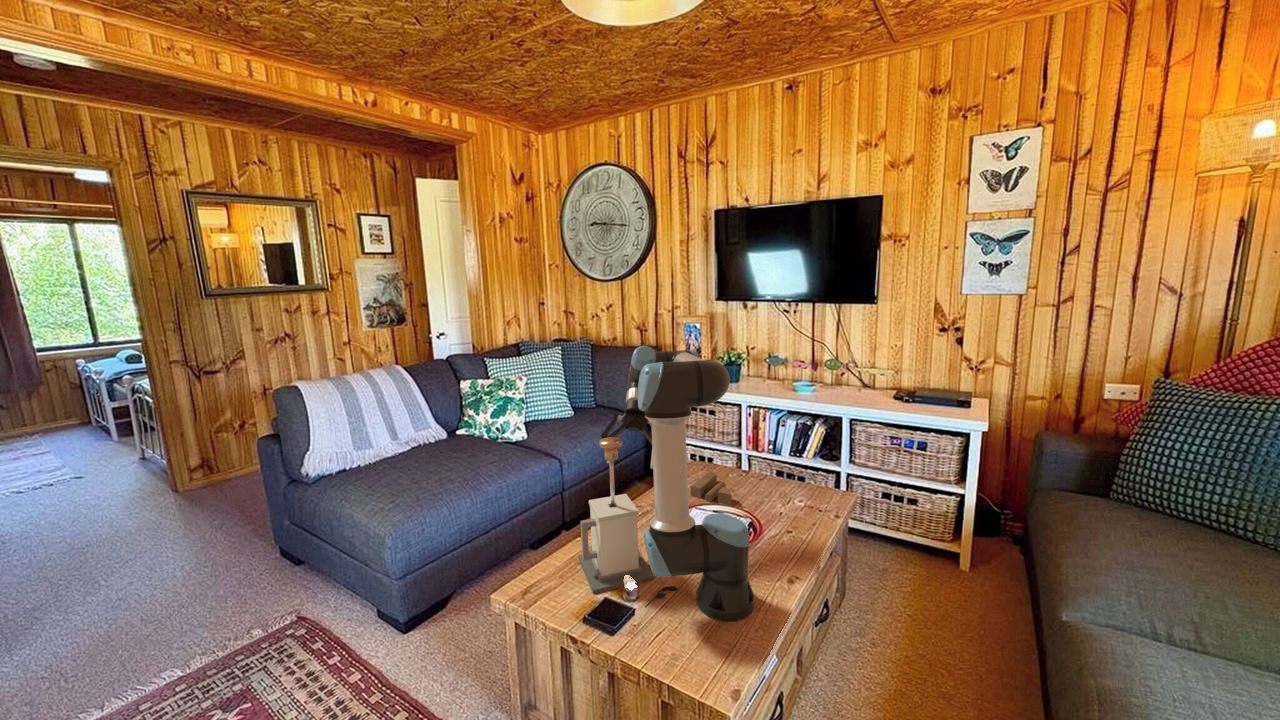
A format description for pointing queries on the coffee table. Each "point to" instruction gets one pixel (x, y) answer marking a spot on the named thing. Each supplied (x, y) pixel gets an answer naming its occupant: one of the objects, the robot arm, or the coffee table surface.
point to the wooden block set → (704, 489)
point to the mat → (614, 583)
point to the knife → (662, 595)
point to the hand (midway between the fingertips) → (630, 464)
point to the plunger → (611, 459)
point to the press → (612, 538)
